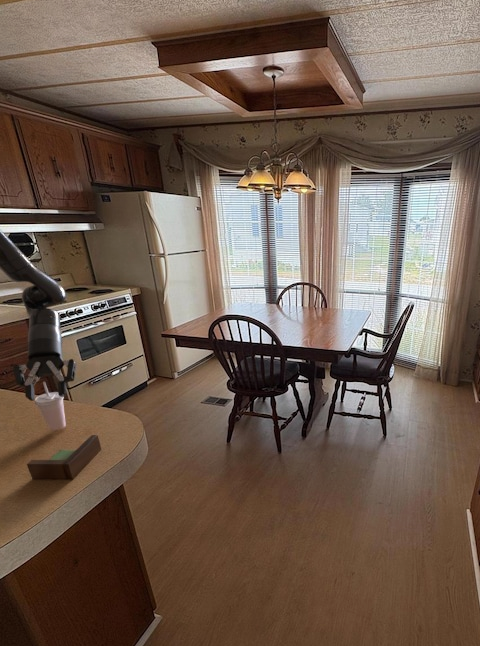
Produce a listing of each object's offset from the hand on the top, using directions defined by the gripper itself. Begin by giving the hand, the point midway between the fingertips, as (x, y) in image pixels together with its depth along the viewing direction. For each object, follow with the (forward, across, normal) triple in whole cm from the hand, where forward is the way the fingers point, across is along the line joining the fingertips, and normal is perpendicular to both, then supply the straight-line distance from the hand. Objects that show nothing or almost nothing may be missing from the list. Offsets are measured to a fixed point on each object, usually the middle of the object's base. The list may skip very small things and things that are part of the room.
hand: (46, 397), depth 93 cm
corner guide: (+20, +4, -4) cm, 21 cm away
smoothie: (+6, 0, +9) cm, 11 cm away
